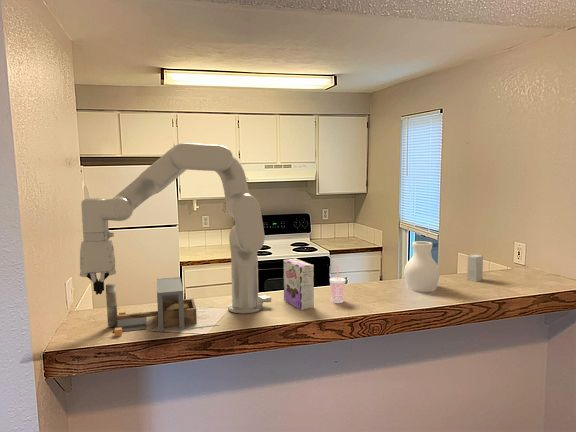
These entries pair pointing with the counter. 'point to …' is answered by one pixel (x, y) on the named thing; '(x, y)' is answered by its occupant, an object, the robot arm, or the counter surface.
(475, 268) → the skincare box
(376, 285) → the counter surface
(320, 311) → the counter surface
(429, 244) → the vase
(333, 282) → the beverage cup
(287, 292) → the candy box
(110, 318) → the wooden tray with post
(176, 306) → the shard
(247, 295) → the robot arm
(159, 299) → the tunnel
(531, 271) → the counter surface
